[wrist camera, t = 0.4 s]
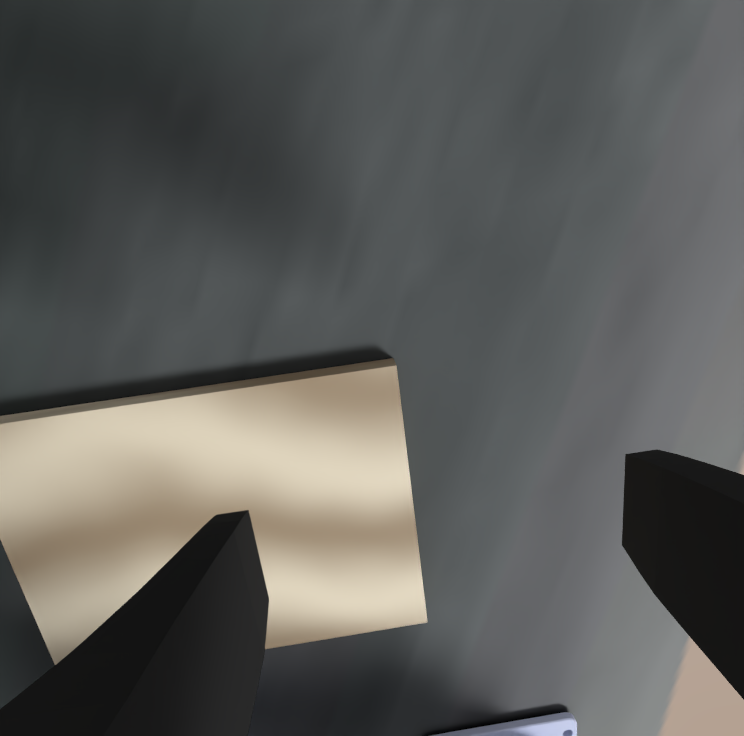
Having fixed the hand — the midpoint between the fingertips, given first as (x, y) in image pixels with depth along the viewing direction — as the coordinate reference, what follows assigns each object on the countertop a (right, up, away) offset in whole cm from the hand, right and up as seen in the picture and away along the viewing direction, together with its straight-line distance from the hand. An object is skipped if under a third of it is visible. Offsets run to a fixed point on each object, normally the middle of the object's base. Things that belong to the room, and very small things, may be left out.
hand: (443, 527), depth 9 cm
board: (-8, -3, +11) cm, 14 cm away
